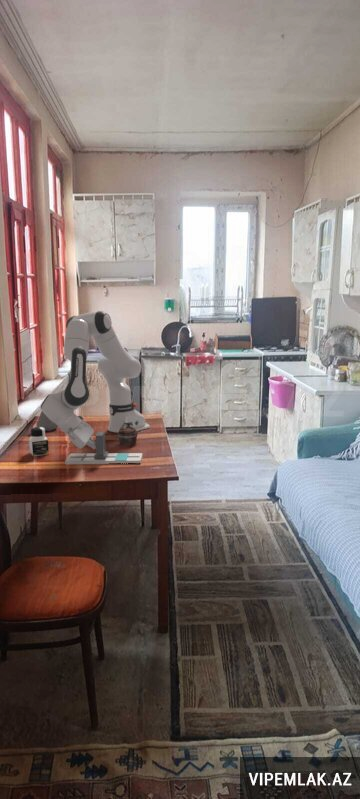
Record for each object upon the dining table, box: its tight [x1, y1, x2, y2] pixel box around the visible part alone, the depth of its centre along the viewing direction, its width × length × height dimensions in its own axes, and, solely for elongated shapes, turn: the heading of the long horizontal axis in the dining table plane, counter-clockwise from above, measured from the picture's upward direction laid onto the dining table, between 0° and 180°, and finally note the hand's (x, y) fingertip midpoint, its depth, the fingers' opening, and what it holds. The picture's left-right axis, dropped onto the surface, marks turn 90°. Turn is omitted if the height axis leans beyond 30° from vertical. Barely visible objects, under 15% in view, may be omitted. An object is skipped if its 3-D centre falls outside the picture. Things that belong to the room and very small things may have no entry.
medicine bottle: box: [28, 426, 50, 457], centre depth 224 cm, size 7×7×12 cm
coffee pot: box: [36, 411, 59, 432], centre depth 267 cm, size 21×12×15 cm, turn 115°
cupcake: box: [117, 422, 139, 447], centre depth 238 cm, size 10×10×10 cm
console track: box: [64, 452, 144, 465], centre depth 214 cm, size 32×10×2 cm, turn 89°
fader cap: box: [94, 431, 109, 459], centre depth 213 cm, size 5×7×10 cm
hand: (95, 447), depth 214 cm, fingers closed, pressing on fader cap
